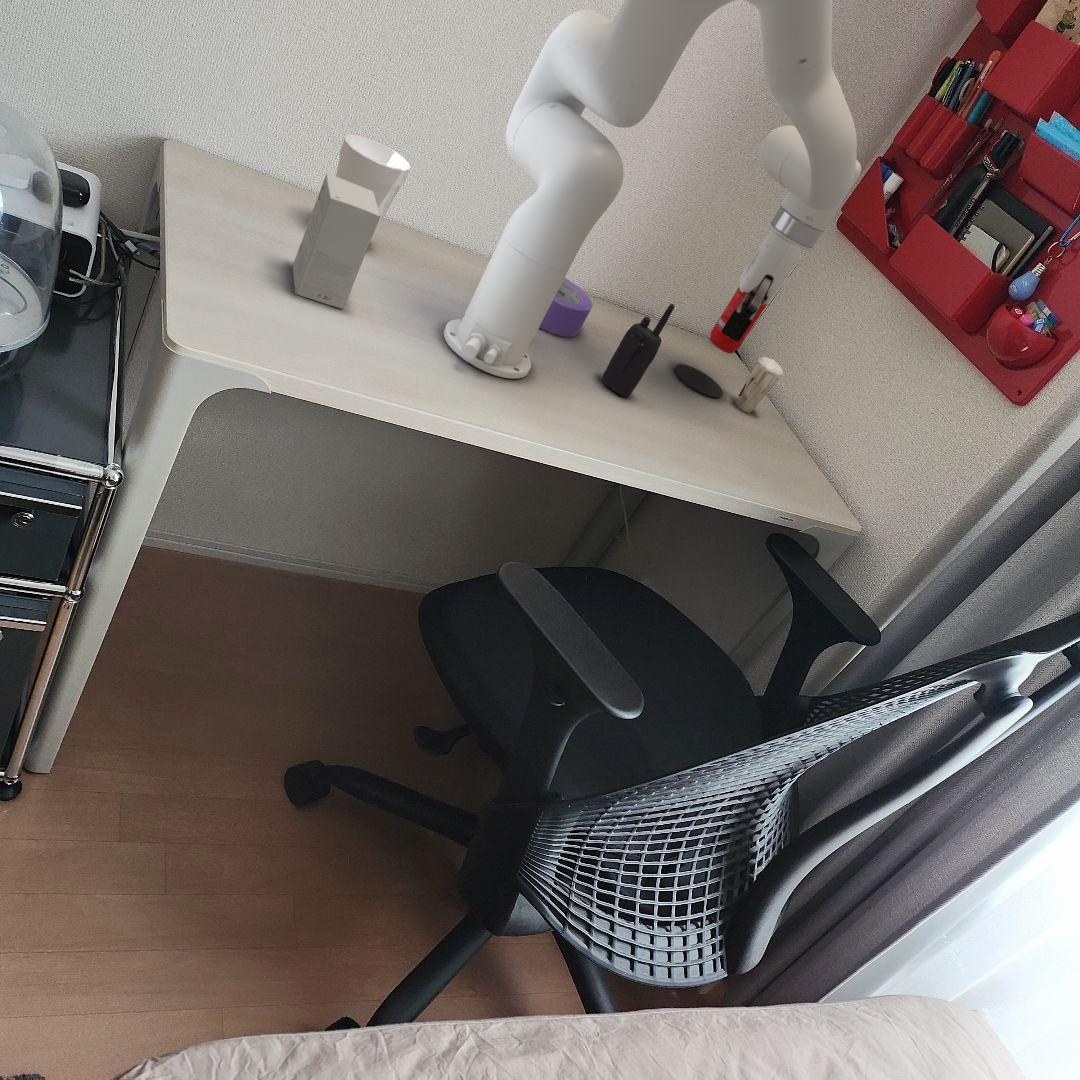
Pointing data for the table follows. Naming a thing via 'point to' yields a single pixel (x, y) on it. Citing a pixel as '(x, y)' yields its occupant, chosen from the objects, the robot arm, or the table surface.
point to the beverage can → (716, 334)
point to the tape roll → (567, 310)
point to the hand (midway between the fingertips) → (730, 330)
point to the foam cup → (372, 169)
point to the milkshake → (759, 383)
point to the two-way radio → (634, 355)
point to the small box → (335, 241)
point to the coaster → (698, 381)
